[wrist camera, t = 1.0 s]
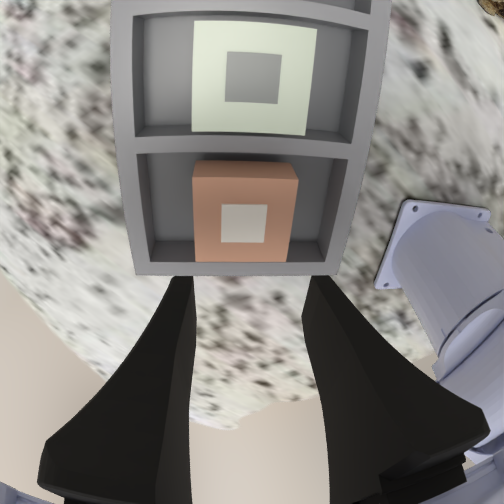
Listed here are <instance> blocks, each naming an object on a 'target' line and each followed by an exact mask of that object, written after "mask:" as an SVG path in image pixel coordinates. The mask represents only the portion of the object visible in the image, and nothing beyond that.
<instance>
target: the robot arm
mask: <svg viewBox="0 0 504 504" xmlns="http://www.w3.org/2000/svg"><path fill="white" fill-rule="evenodd" d="M414 206H416V207H415V208H414V209H413V207H414ZM490 216H491V212H490V211H489V210H488V209H486V208H479V207H471V206H463V205H456V204H447V203H439V202H430V201H420V200H410V199H409V200H406V201H404V202H403V204H402V206H401V209H400V212H399V216H398V219H397V222H396V225H395V228H394V231H393V233H392V236H391V239H390V242H389V245H388V248H387V250H386V253H385V256H384V258H383V261H382V264H381V266H380V269H379V272H378V274H377V277H376V279H375V282H374V286H375V288H376V289H395V288H402V289H403V291H404V293H405V294H406V296H407V298H408V300H409V302H410V304H411V305H412V307H413V309H414V311H415V313H416V315H417V317H418V319H419V320H420V322H421V324H422V326H423V328H424V330H425V332H426V334H427V336H428V338H429V340H430V342H431V344H432V346H433V348H434V350H435V352H436V354H437V356H438V360H437V361H436V362H435V363H434V364H433V365H432V369H433V371H434V373H435V375H436V378H437V379H436V380H435V381H434V380H432V379H431V378H430V377H428V376H427V375H426V374H425V373H423V372H422V371H420V370H419V369H418V368H417V367H415V366H414V365H413V364H412V363H411V362H409V361H408V360H407V359H406V358H405V357H404V356H402V355H401V354H400V353H399V352H398V351H397V350H396V349H395V348H394V347H392V346H391V345H390V344H389V343H388V342H387V341H386V340H385V339H384V338H383V337H382V336H381V335H380V334H379V333H378V332H377V330H376V329H375V328H374V327H373V326H372V325H371V324H370V323H369V322H368V321H367V320H366V318H365V317H364V316H363V315H362V314H361V313H360V312H359V311H358V309H357V308H356V307H355V306H354V305H353V304H352V302H351V301H350V300H349V299H348V298H347V296H346V295H345V294H344V293H343V292H342V290H341V289H340V288H339V287H338V286H337V284H336V283H335V282H334V281H333V280H332V278H331V277H330V276H329V275H312V276H311V280H310V284H309V288H308V292H307V296H306V300H305V304H304V308H303V312H302V316H301V317H302V324H303V331H304V338H305V343H306V347H307V351H308V355H309V358H310V362H311V366H312V369H313V373H314V377H315V380H316V384H317V388H318V391H319V395H320V400H321V404H322V410H323V417H324V424H325V432H326V441H327V451H328V464H329V482H330V483H329V484H330V504H504V239H503V238H502V237H501V236H500V234H499V233H498V232H497V231H496V230H495V229H494V228H493V227H492V226H491V225H490V224H489V223H488V221H489V218H490ZM196 321H197V317H196V306H195V294H194V281H193V276H174V277H173V278H172V279H171V281H170V284H169V286H168V288H167V290H166V292H165V294H164V296H163V298H162V300H161V302H160V304H159V306H158V308H157V310H156V311H155V313H154V315H153V317H152V318H151V320H150V322H149V324H148V325H147V327H146V329H145V330H144V332H143V333H142V335H141V336H140V338H139V339H138V341H137V342H136V344H135V346H134V347H133V348H132V350H131V351H130V353H129V354H128V356H127V357H126V358H125V360H124V361H123V362H122V364H121V365H120V366H119V368H118V369H117V370H116V371H115V373H114V374H113V375H112V376H111V377H110V379H109V380H108V381H107V382H106V383H105V385H104V386H103V387H102V388H101V389H100V390H99V392H98V393H97V394H96V395H95V396H94V397H93V398H92V399H91V400H90V401H89V402H88V403H87V404H86V405H85V406H84V407H83V408H82V409H81V410H80V411H79V412H78V413H77V414H76V415H75V416H74V417H73V418H72V419H71V420H70V421H69V422H67V423H66V424H65V425H64V426H63V427H62V428H60V429H59V430H58V431H57V432H56V433H55V434H53V435H52V436H51V437H50V438H49V439H48V440H47V441H46V443H45V446H44V449H43V452H42V455H41V460H40V466H39V472H38V479H37V483H38V485H39V486H40V487H42V488H43V489H45V490H48V491H50V492H52V493H54V494H57V495H59V496H61V497H64V504H192V494H191V479H190V455H189V401H190V392H191V383H192V374H193V366H194V357H195V349H196ZM465 455H466V456H467V457H468V458H469V459H471V460H472V461H473V463H474V464H475V466H473V467H471V468H469V469H467V470H465V471H464V470H463V466H462V464H463V463H464V462H466V458H465ZM0 504H54V503H51V502H47V501H45V500H42V499H39V498H36V497H33V496H30V495H28V494H25V493H23V492H20V491H18V490H16V489H15V488H13V487H11V486H8V485H6V484H4V483H2V482H0Z"/></svg>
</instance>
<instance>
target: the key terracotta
mask: <svg viewBox="0 0 504 504" xmlns="http://www.w3.org/2000/svg"><path fill="white" fill-rule="evenodd" d="M298 181H299V179H298V177H297V175H296V173H295V171H294V169H293V167H292V165H291V163H285V162H263V161H223V160H196V162H195V167H194V171H193V176H192V188H193V218H194V241H195V260H196V262H286V259H287V253H288V247H289V240H290V234H291V228H292V221H293V215H294V208H295V202H296V195H297V188H298Z"/></svg>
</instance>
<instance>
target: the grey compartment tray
mask: <svg viewBox="0 0 504 504" xmlns="http://www.w3.org/2000/svg"><path fill="white" fill-rule="evenodd" d="M391 3H392V0H111V22H110V72H111V97H112V113H113V126H114V138H115V148H116V157H117V166H118V174H119V182H120V189H121V196H122V202H123V209H124V215H125V221H126V227H127V232H128V238H129V243H130V248H131V254H132V259H133V263H134V268H135V273H136V275H155V276H300V275H337V273H338V270H339V267H340V263H341V260H342V256H343V253H344V249H345V246H346V242H347V239H348V235H349V231H350V228H351V224H352V220H353V216H354V212H355V208H356V205H357V201H358V196H359V192H360V188H361V184H362V180H363V175H364V171H365V167H366V162H367V158H368V153H369V148H370V144H371V139H372V134H373V129H374V123H375V118H376V113H377V107H378V102H379V96H380V90H381V84H382V77H383V71H384V64H385V57H386V49H387V41H388V33H389V24H390V14H391ZM194 21H246V22H262V23H273V24H283V25H292V26H299V27H306V28H313V29H317V35H316V45H315V55H314V64H313V73H312V82H311V90H310V99H309V107H308V115H307V123H306V131H305V136H302V135H289V134H274V133H254V132H192V67H193V39H194ZM196 160H223V161H263V162H285V163H291V165H292V167H293V169H294V171H295V173H296V175H297V177H298V179H299V181H298V188H297V195H296V202H295V208H294V215H293V221H292V228H291V234H290V240H289V247H288V253H287V259H286V262H196V260H195V241H194V218H193V188H192V176H193V171H194V167H195V162H196Z"/></svg>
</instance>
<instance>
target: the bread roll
mask: <svg viewBox="0 0 504 504" xmlns="http://www.w3.org/2000/svg"><path fill="white" fill-rule="evenodd" d="M478 3H479V4H480V5H481V7H483V8H484V10H485V11H486V12H488V13H489V14H491V15H493V16H495V13H496V14H498V15H499V16H501V17H502V18H504V0H479V1H478Z"/></svg>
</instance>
